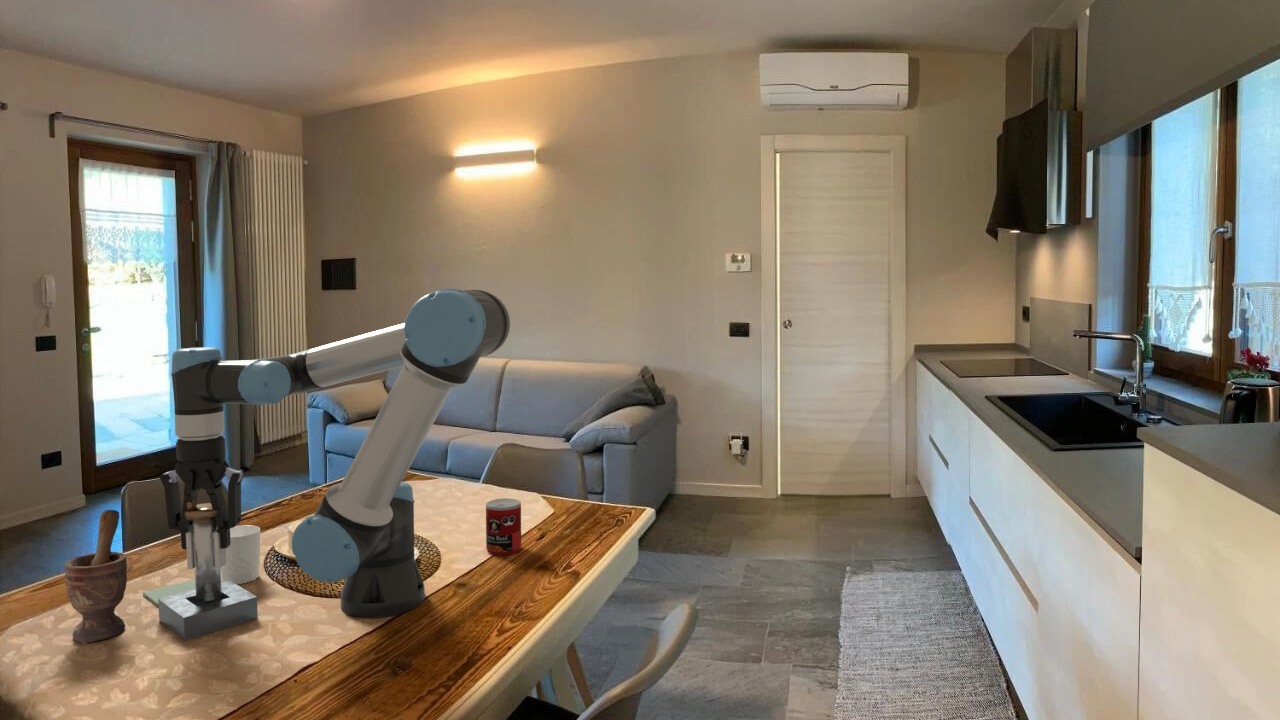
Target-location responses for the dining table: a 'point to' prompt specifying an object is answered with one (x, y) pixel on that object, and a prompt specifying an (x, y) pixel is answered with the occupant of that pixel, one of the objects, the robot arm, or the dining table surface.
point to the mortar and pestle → (98, 585)
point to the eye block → (207, 611)
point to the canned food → (503, 526)
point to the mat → (169, 590)
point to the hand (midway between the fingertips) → (207, 565)
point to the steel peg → (204, 550)
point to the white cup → (242, 555)
